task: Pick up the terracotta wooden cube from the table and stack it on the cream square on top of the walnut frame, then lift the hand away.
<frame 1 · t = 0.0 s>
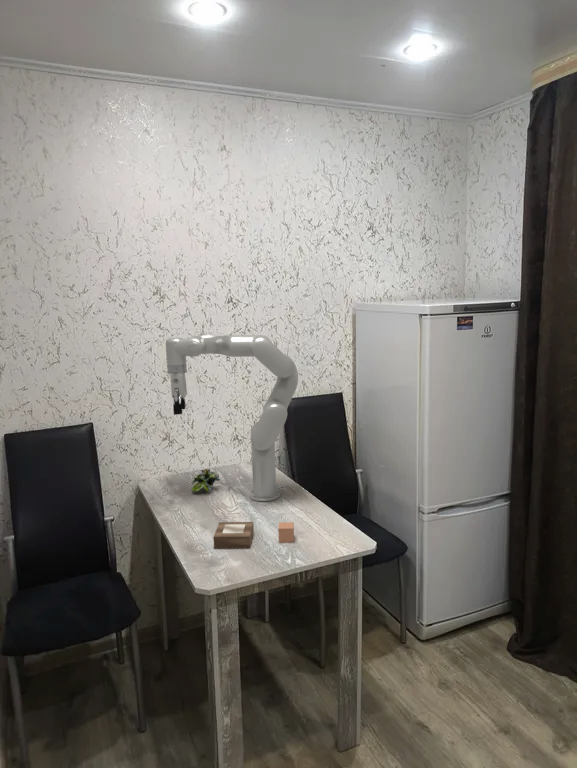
hand: (179, 411, 224), 37 cm above the table, tool pointing down, fingers open, 9 cm apart
walnut frame: (234, 540, 191), on the table
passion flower: (206, 491, 240), on the table
terracotta cube: (286, 539, 191), on the table
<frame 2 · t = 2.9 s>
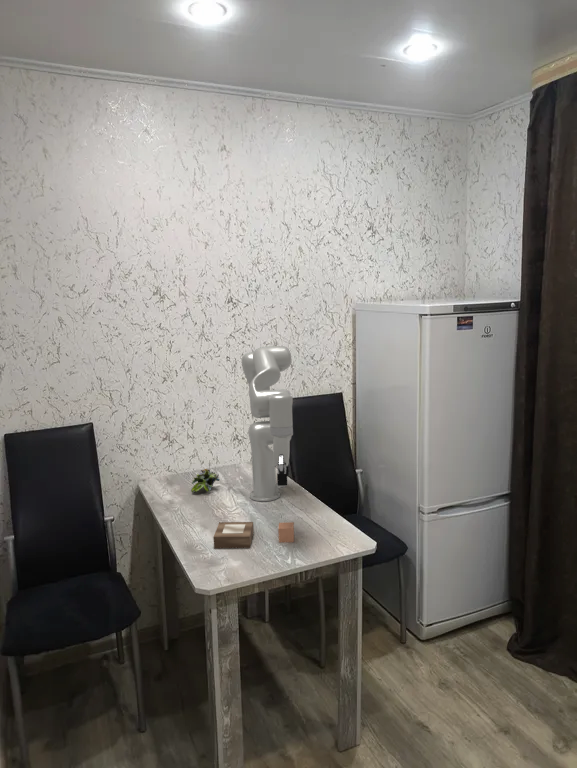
hand: (283, 480, 188), 21 cm above the table, tool pointing down, fingers open, 9 cm apart
nothing on the table moved.
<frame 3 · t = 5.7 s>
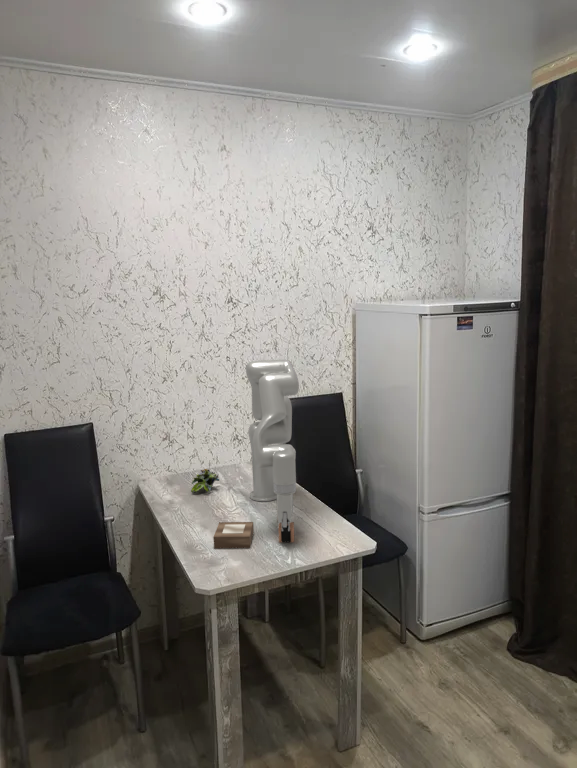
hand: (286, 537, 191), 0 cm above the table, tool pointing down, fingers closed on terracotta cube, 4 cm apart
terracotta cube: (286, 539, 191), on the table, touching gripper
everything else where it was.
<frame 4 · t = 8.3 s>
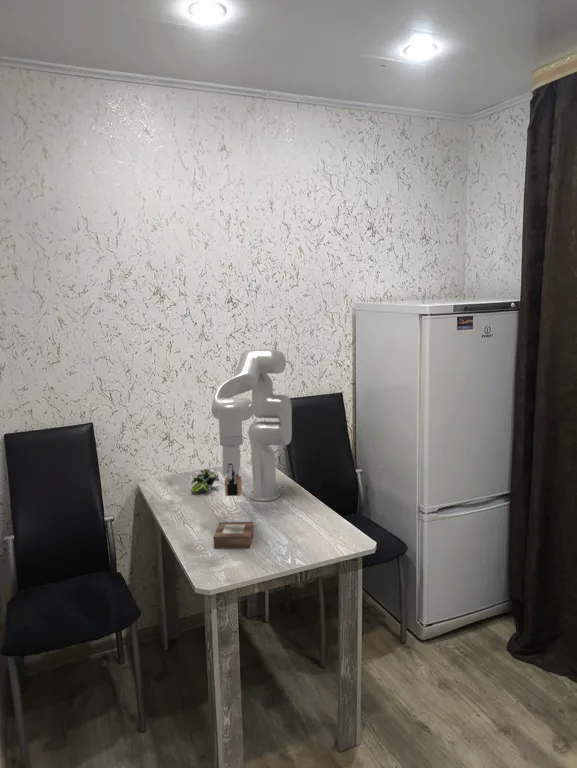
hand: (233, 491, 189), 17 cm above the table, tool pointing down, fingers closed on terracotta cube, 4 cm apart
terracotta cube: (233, 493, 189), point 17 cm above the table, touching gripper
everything else where it was.
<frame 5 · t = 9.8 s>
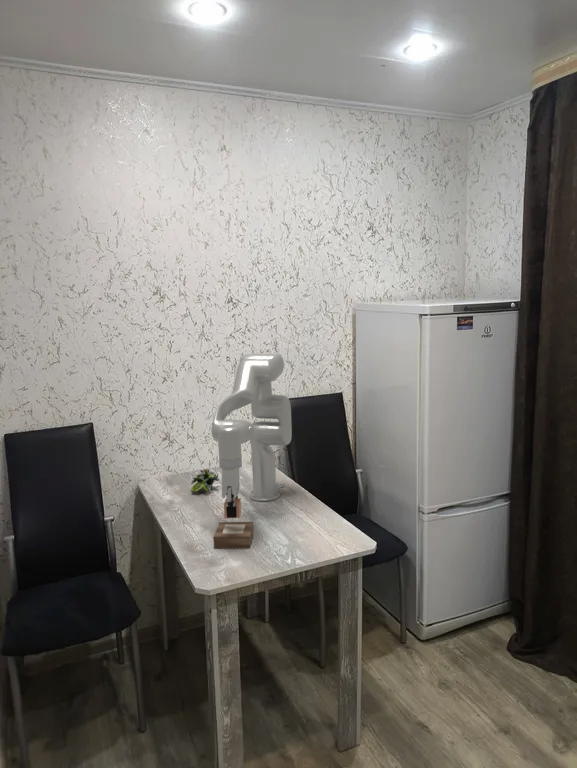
hand: (232, 513, 190), 10 cm above the table, tool pointing down, fingers closed on terracotta cube, 4 cm apart
terracotta cube: (233, 515, 190), point 9 cm above the table, touching gripper
everything else where it was.
when the fingers open (6 cm above the table, at t = 11.0 s): terracotta cube stays where it is, resting on walnut frame.
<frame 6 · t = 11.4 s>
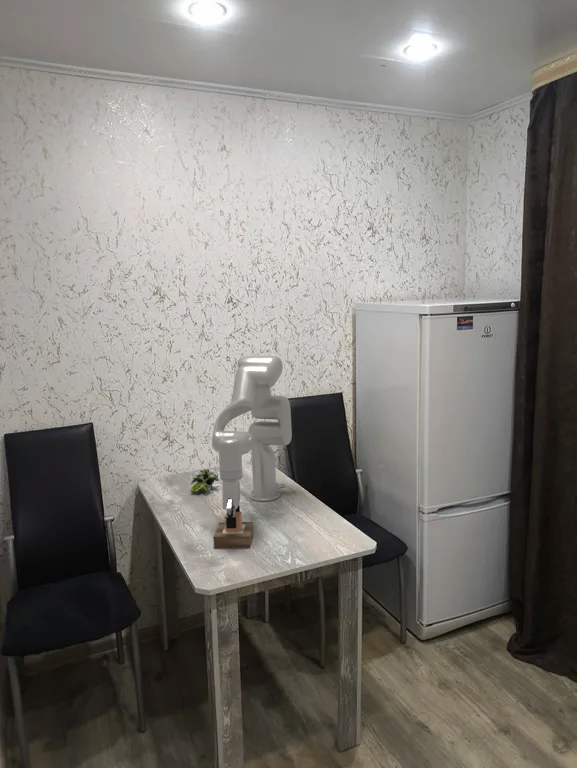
hand: (233, 522, 190), 7 cm above the table, tool pointing down, fingers open, 9 cm apart
terracotta cube: (233, 528, 191), point 4 cm above the table, touching walnut frame
everything else where it was.
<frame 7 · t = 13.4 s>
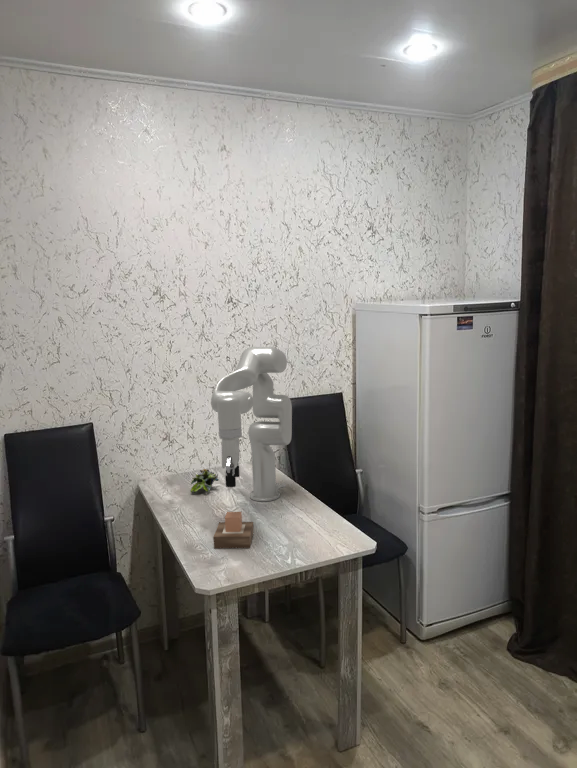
hand: (232, 481, 189), 20 cm above the table, tool pointing down, fingers open, 9 cm apart
nothing on the table moved.
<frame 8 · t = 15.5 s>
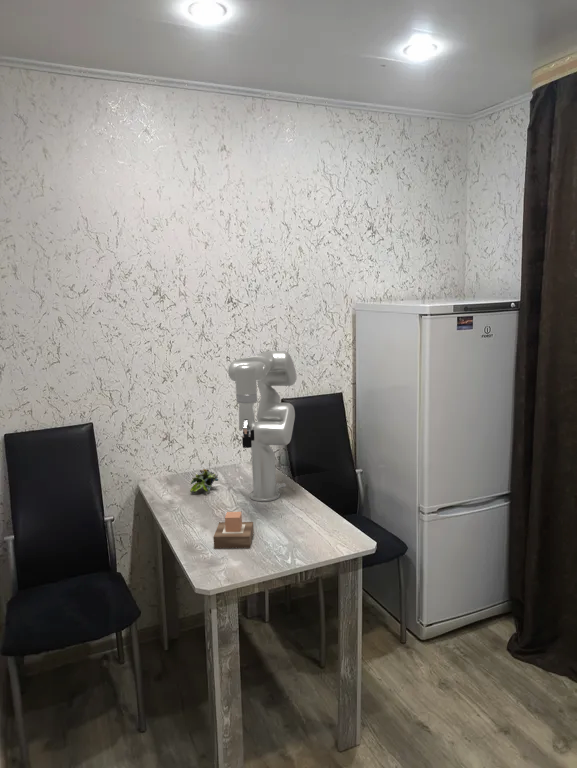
hand: (248, 443, 207), 28 cm above the table, tool pointing down, fingers open, 9 cm apart
nothing on the table moved.
at the end: terracotta cube 0.0 cm off-centre on the walnut frame, point 4.2 cm above the walnut frame's base; terracotta cube tilted 0°; the gripper is holding nothing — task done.
